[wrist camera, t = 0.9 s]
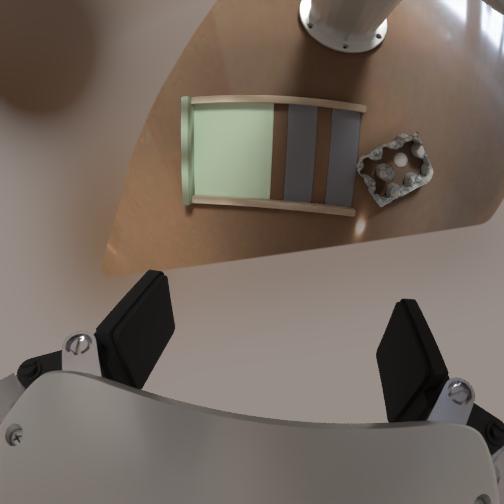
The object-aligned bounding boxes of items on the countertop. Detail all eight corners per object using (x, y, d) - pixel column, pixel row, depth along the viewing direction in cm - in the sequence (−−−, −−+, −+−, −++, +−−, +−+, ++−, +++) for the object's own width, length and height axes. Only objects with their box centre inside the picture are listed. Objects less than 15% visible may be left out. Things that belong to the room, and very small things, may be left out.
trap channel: (188, 98, 35) (181, 97, 33) (364, 106, 31) (368, 104, 29) (189, 200, 42) (182, 205, 40) (353, 214, 38) (356, 219, 36)
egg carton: (408, 128, 32) (420, 128, 28) (428, 173, 34) (440, 178, 30) (349, 158, 35) (354, 161, 32) (371, 203, 37) (379, 211, 34)
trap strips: (288, 104, 33) (288, 104, 33) (360, 112, 32) (360, 112, 32) (283, 199, 40) (283, 200, 39) (350, 207, 38) (351, 207, 38)
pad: (194, 104, 35) (194, 104, 35) (274, 103, 34) (273, 103, 34) (195, 194, 41) (194, 194, 41) (269, 198, 40) (269, 199, 40)
